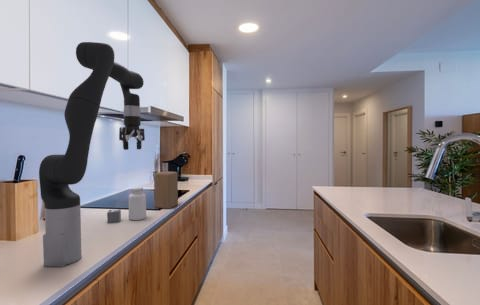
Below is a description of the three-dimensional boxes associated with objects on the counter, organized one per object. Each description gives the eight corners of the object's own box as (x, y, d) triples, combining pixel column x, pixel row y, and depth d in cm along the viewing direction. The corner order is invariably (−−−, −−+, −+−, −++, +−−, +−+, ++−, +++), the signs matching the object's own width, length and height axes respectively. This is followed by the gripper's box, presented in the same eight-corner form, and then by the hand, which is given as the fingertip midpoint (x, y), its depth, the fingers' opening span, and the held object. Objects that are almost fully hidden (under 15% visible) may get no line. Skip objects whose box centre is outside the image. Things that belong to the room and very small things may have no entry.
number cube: (119, 222, 122) (119, 211, 121) (107, 223, 120) (107, 212, 120) (120, 219, 126) (120, 208, 126) (109, 220, 125) (109, 209, 125)
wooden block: (153, 208, 148) (153, 173, 147) (163, 204, 158) (163, 171, 157) (169, 209, 145) (168, 173, 145) (178, 205, 155) (178, 171, 154)
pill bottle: (131, 221, 122) (131, 190, 122) (126, 218, 128) (126, 187, 128) (148, 218, 127) (148, 188, 127) (143, 215, 133) (142, 186, 133)
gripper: (127, 114, 118) (127, 150, 119) (148, 117, 131) (148, 149, 132) (114, 114, 121) (115, 149, 121) (136, 117, 134) (137, 149, 135)
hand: (132, 149), depth 127 cm, fingers open, 8 cm apart
